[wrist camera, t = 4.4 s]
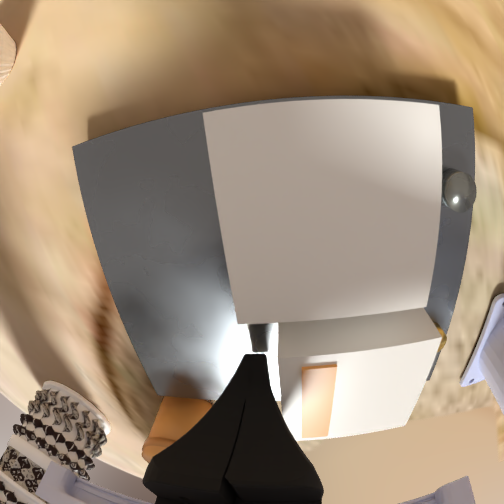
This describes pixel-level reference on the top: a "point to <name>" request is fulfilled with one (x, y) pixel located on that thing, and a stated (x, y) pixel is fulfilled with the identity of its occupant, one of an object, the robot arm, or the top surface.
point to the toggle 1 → (327, 206)
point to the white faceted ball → (6, 54)
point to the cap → (173, 423)
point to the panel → (219, 245)
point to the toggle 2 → (353, 372)
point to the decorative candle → (51, 442)
